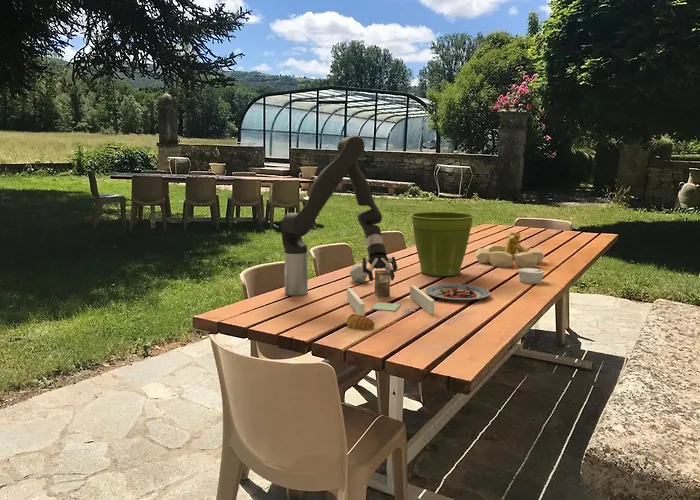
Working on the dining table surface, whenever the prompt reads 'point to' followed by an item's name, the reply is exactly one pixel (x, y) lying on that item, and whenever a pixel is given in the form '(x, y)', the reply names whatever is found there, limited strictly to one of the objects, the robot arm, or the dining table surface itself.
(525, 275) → the ramekin
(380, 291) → the walnut block
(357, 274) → the die
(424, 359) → the dining table surface
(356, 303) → the arena
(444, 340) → the dining table surface
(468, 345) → the dining table surface
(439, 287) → the ceramic plate
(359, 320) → the pastry
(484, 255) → the campfire
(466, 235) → the plant pot
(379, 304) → the pad
